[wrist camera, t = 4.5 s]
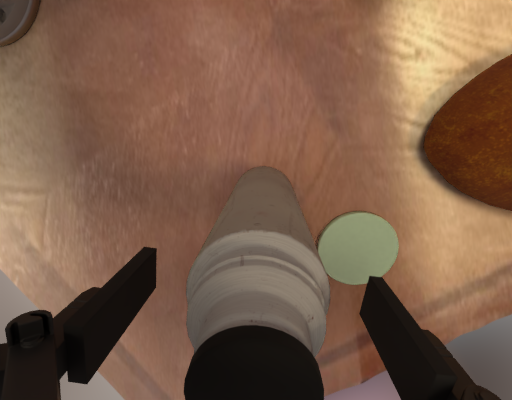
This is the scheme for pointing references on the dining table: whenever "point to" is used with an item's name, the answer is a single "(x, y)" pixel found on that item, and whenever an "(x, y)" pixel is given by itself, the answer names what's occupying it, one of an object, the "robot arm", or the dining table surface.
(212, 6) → the dining table surface
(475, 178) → the bread
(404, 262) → the dining table surface
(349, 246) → the trivet
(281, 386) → the thermos bottle
